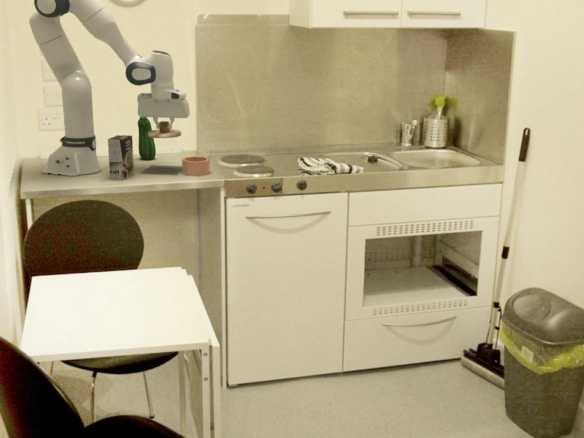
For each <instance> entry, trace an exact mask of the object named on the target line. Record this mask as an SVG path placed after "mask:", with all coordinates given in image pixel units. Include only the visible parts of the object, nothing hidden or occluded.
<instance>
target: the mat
mask: <svg viewBox="0 0 584 438" xmlns="http://www.w3.org/2000/svg"><path fill="white" fill-rule="evenodd" d="M181 172H182V165H181V166H179V165H155V164H154V165H153V164H152V165H150V166H149V167H147V168H145V169H144V170H142V171H141V172H140V173H139V174H141V175H158V176H159V175H161V176H177V175H179V174H180V173H181Z"/></svg>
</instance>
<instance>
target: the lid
mask: <svg viewBox="0 0 584 438" xmlns="http://www.w3.org/2000/svg"><path fill="white" fill-rule="evenodd" d="M158 122H159V121H158ZM168 124H170V120H169V121H163V120H161V121H160V122H159V129H152V131H149V132H148V136H149V137H152V138H154V139H172V138H173V139H174V138H179V137H181V136H182V131H181V130H178V129H173V128H172V129H167V125H168Z"/></svg>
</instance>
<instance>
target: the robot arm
mask: <svg viewBox="0 0 584 438" xmlns="http://www.w3.org/2000/svg"><path fill="white" fill-rule="evenodd" d="M33 4H34V7H35V10H36V11H35V12H34V13H32V14H31V16H30V17H29V20H28V24H29V25H30V27H29V28H30V29H31V32H32V35H33V38H34V40H35V42H36V44H37V46H38V47H39V50H40V52H41V53H42V55H43V58H44V59H45V61H46V63H47V64H48V66H49V68H50V70H51V72H52V73H53V75H54V77H55V79H56V81H57V82H58V84H59V86H60V88H61V97H62V98H61V100H62V108H63V109H62V110H63V111H62V112H63V121H64V122H63V124H64V136H62V137H61V138H59V143H61V145H60V146H58V148H56V149H55V150H54V151H53V152H52V153H51V154H50V155H49V156H48V159H47V166H45V167H44V168H42V169H41V170H42V171H41V172H43V174H48V173H51V174H50V175H58V174H61V176H69V177H70V176H71V177H76V176H81V175H90V174H95V173H98V172H101V170H102V168H101V167H100V163H99V160H98V156H97V155H98V154H97V139H96V135H95V130H94V129H95V126H94V110H93V109H94V108H93V105H94V104H93V93H92V92H93V91H92V83H91V81H90V77H88V75H87V72H86V71H85V69H84V66H83V65H82V63H81V61H80V60H79V57H78V56H77V54H76V52H75V50H74V48H73V46H72V44H71V42H70V40H69V38H68V36H67V34H66V32H65V30H64V28H63V26H62V24H61V17H63V16H64V15H67V14H68V13H70V14H73V15H74V16H75V17H76V18H77V19H78V21H79V22H80V23H81V25H82V26H83V27H84V28H85V29H86V31H87V32H88V33H90V34H91V35H92V36H93V37H94V38H95V39H96V40H99V41H101V42H103V43H104V44H106V45H108V46H109V47H110V48H111V49H112V51H113V52H114V53H115V54H116V56H117V57H118V58H119V59H120V60H121V62H122V63H123V65H124V66H125V68H126V69H125V72H124V73H125V78H126V80H127V81H128V83H130V84H131V85H133V86H137V87H138V86H139V87H141V86H143V85H148V84H150V93H149V92H141V93H140V94H138V95H137V98H136V99H137V115H138V116H139V118H140V117H147V118H152V120H153V122H154V124H155V125H156V126H155V127H156V130H159V118H160V119H161V118H165V119H167V118H168V119H169V124H168V125H167V129H173V124H174V122H175V120H176V119H187V118H189V116H190V115H191V114H190V112H191V111H190V103H189V101H188V99H187V98H186V97H187V93H186V92H185V91H183V90H179V89H177V88H175V84H174V83H175V82H174V81H173V80H174V79H173V78H174V63H173V58H172V56H171V54H169V53H168V52H167V51H162V50H151V51H150V52H149V53H148V54H146V55H144V56H141V55H140V54H138V53H137V52H136V50H135V49H134V48H133V47H132V45H130V44H129V42H128V41H127V39H125V37H124V35H123V34H122V32H121V30H120V28H119V25H118V24H117V22H116V19H114V16H113V14H112V13H111V11H110V10H109V9H108V8H107V6H106V5H105V3H104V2H103V1H102V0H34V1H33Z"/></svg>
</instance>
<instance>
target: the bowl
mask: <svg viewBox="0 0 584 438" xmlns="http://www.w3.org/2000/svg"><path fill="white" fill-rule="evenodd" d="M210 160H211V159H210V157H206V156H197V155H196V156H195V155H194V156H187V157H183V159H181V164H182V165H181V166H182V171H181V172H182V174H183V175H186V176H194V177H201V176H207V175H208V174H210V173H211V165H210V164H211V161H210Z"/></svg>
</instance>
